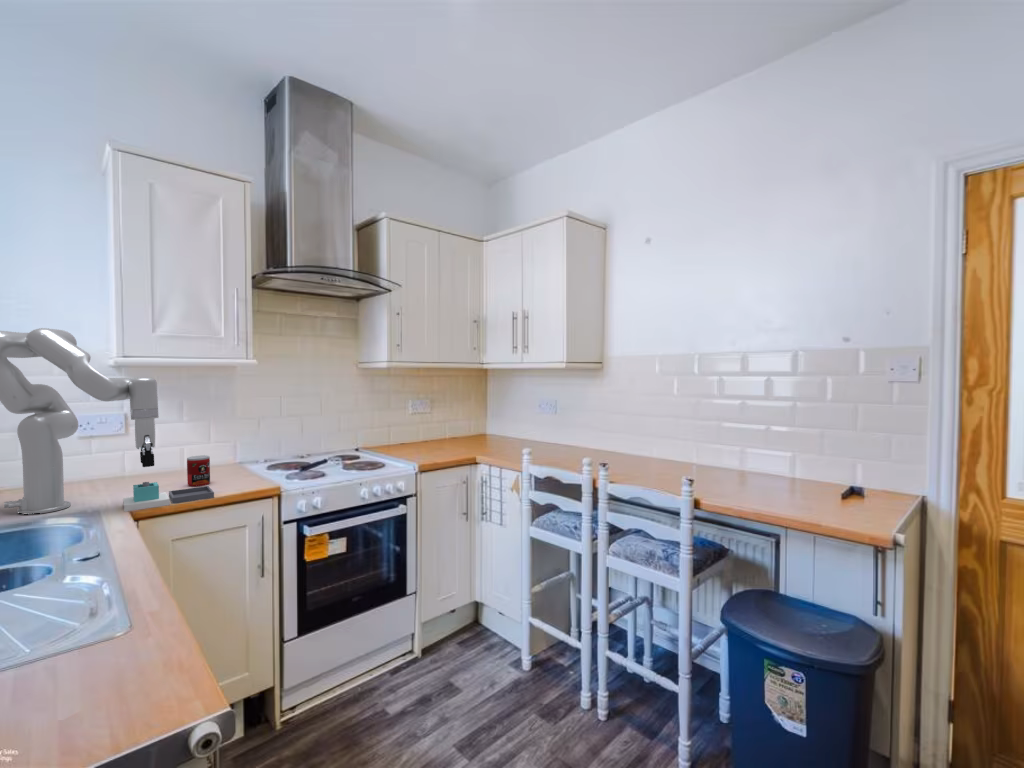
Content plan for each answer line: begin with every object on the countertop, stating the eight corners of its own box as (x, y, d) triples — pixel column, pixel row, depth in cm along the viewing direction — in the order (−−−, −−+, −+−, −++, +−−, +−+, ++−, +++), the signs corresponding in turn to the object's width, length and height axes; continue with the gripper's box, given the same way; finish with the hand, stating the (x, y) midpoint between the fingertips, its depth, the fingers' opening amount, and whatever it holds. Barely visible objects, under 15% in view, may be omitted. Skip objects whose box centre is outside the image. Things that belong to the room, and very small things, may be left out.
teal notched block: (134, 502, 161) (134, 488, 161) (133, 498, 166) (133, 485, 166) (159, 498, 165) (158, 485, 165) (157, 494, 170) (157, 482, 170)
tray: (172, 503, 166) (172, 498, 166) (168, 496, 176) (168, 491, 176) (214, 497, 174) (213, 492, 174) (208, 491, 184) (208, 485, 183)
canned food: (192, 487, 189) (191, 459, 188) (184, 484, 194) (183, 457, 193) (213, 484, 195) (213, 456, 194) (205, 481, 200) (204, 454, 199)
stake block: (124, 511, 157) (123, 488, 157) (123, 503, 167) (122, 481, 166) (169, 504, 165) (169, 482, 165) (166, 497, 174) (165, 476, 174)
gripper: (129, 413, 169) (132, 462, 170) (131, 416, 156) (134, 470, 156) (156, 412, 174) (158, 459, 175) (160, 414, 161) (163, 466, 161)
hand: (147, 464), depth 165 cm, fingers open, 9 cm apart
